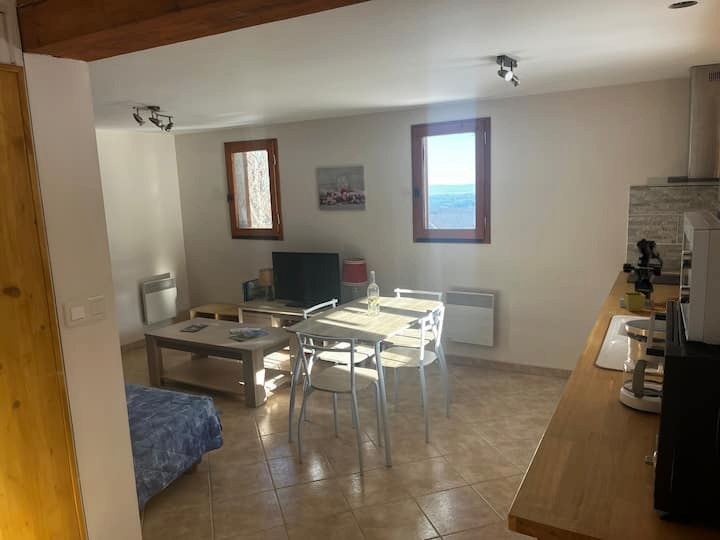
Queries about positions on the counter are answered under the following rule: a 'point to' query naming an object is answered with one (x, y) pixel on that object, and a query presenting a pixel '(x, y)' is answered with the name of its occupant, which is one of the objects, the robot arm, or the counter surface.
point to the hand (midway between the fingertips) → (639, 282)
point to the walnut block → (648, 304)
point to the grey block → (622, 303)
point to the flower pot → (634, 301)
